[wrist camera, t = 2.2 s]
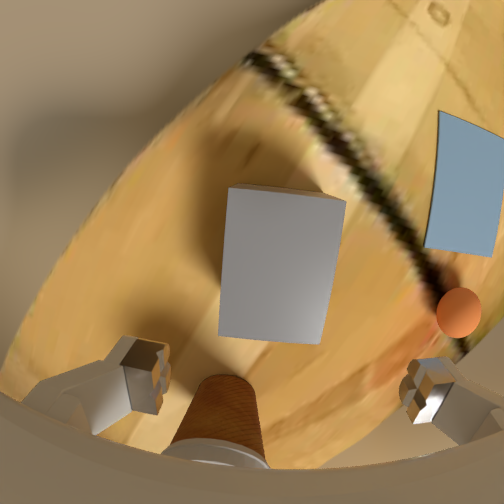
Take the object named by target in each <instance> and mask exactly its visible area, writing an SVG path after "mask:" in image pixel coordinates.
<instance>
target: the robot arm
mask: <svg viewBox="0 0 504 504" xmlns="http://www.w3.org/2000/svg"><path fill="white" fill-rule="evenodd" d="M169 356H170V347H169V345H168V343H163V342H158V341H153V340H148V339H143V338H138V337H134V336H129V335H124V336H122V337H121V339H120V340H119V341H118V342H117V344H116V345H115V346H114V348H113V349H112V350H111V351H110V353H109V354H108V355H107V357H106V358H105V359H104V361H101V360H98V361H95V362H93V363H90V364H87V365H84V366H82V367H79V368H76V369H73V370H71V371H68V372H65V373H62V374H59V375H57V376H54V377H51V378H48V379H45V380H42V381H40V382H39V383H38V384H37V385H36V386H35V387H34V388H33V389H32V391H31V392H30V393H29V394H28V395H27V396H26V397H25V399H24V400H23V401H22V402H21V403H20V402H18V401H16V400H15V399H13V398H11V397H9V396H7V395H6V394H4V393H2V392H0V504H504V397H503V396H502V395H499V394H497V393H495V392H493V391H491V390H489V389H487V388H485V387H483V386H481V385H479V384H477V383H475V382H473V381H471V380H467V379H466V378H465V377H464V376H463V375H462V373H461V372H460V371H459V370H458V368H457V367H456V366H455V365H454V364H453V362H452V361H451V360H450V359H449V358H448V357H446V356H443V357H435V358H426V359H412V361H411V362H410V363H409V365H408V367H407V371H408V374H407V375H406V376H405V377H404V378H403V379H402V381H401V384H400V386H399V397H400V400H401V402H402V404H404V405H405V406H407V407H408V408H407V411H406V412H407V414H408V416H409V418H410V420H411V422H412V424H418V423H426V422H432V424H434V425H435V426H436V427H437V428H439V429H440V430H441V431H442V432H443V433H445V434H446V435H447V436H448V437H450V438H451V439H452V440H453V441H455V442H456V443H457V444H458V445H459V446H456V447H453V448H449V449H446V450H442V451H438V452H435V453H430V454H426V455H422V456H417V457H413V458H408V459H402V460H397V461H392V462H386V463H378V464H371V465H363V466H355V467H342V468H327V469H263V468H248V467H236V466H227V465H219V464H211V463H204V462H198V461H192V460H186V459H181V458H176V457H171V456H166V455H162V454H157V453H153V452H149V451H145V450H141V449H137V448H134V447H130V446H127V445H123V444H120V443H117V442H113V441H110V440H107V439H104V438H101V437H98V436H95V435H97V434H98V433H100V432H101V431H103V430H105V429H106V428H108V427H109V426H111V425H112V424H114V423H115V422H117V421H118V420H120V419H121V418H123V417H124V416H126V415H127V414H129V413H130V412H132V410H134V411H138V412H143V413H148V414H153V415H158V413H159V410H160V408H161V406H162V403H163V394H165V393H166V392H167V391H168V388H169V384H170V379H171V365H170V364H169V363H168V361H167V360H168V358H169Z"/></svg>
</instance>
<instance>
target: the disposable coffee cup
mask: <svg viewBox="0 0 504 504" xmlns="http://www.w3.org/2000/svg"><path fill="white" fill-rule="evenodd" d="M256 403H257V402H256V395H255V391H254V389H253V388H252V386H251V385H250V384H249V383H247V382H246V381H244V380H243V379H240V378H238V377H235V376H231V375H215V376H212V377H209V378H207V379H205V380H204V381H203V382H202V383H201V384H200V386H199V388H198V390H197V392H196V394H195V396H194V398H193V400H192V402H191V404H190V406H189V408H188V410H187V412H186V414H185V416H184V418H183V420H182V422H181V424H180V426H179V428H178V430H177V432H176V434H175V436H174V438H173V440H172V442H171V444H170V446H168V447H167V448H166V449H165V450H164V451H163V452H162V453H161V454H162V455H166V456H171V457H176V458H181V459H186V460H192V461H198V462H204V463H211V464H219V465H227V466H236V467H248V468H263V469H270V467H269V466H268V464H267V462H266V460H265V454H264V449H263V444H262V443H263V441H262V439H261V438H262V435H261V428H260V425H259V424H260V422H259V416H258V412H257V411H258V409H257V404H256Z"/></svg>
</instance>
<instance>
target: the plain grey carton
mask: <svg viewBox="0 0 504 504" xmlns="http://www.w3.org/2000/svg"><path fill="white" fill-rule="evenodd" d="M345 208H346V201H344V200H341V199H339V198H336V197H334V196H331V195H328V194H325V193H321V192H314V191H306V190H298V189H290V188H281V187H272V186H263V185H253V184H242V183H237V184H235V185H233V186H231V187H229V188H228V200H227V212H226V224H225V237H224V250H223V264H222V279H221V294H220V310H219V328H218V336H224V337H233V338H242V339H252V340H263V341H275V342H288V343H303V344H320V340H321V336H322V332H323V327H324V323H325V318H326V314H327V309H328V305H329V300H330V295H331V290H332V285H333V280H334V275H335V269H336V264H337V258H338V252H339V247H340V241H341V234H342V228H343V221H344V215H345Z"/></svg>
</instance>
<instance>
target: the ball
mask: <svg viewBox="0 0 504 504" xmlns="http://www.w3.org/2000/svg"><path fill="white" fill-rule="evenodd" d="M436 315H437V322H438V325H439V327H440V329H441V330H442V331H443V332H444V333H445V334H446V335H448V336H450V337H453V338H461V337H465V336H467V335H469V334H470V333H471V332H473V331H474V330H475V328H476V327H477V325H478V323H479V321H480V318H481V304H480V301H479V299H478V297H477V296H476V294H475V293H474V292H472V291H471V290H469V289H467V288H454V289H452V290H450V291H448V292H447V293H446V294H445V295H444V296H443V297H442V298H441V300H440V302H439V304H438V307H437V314H436Z"/></svg>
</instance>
